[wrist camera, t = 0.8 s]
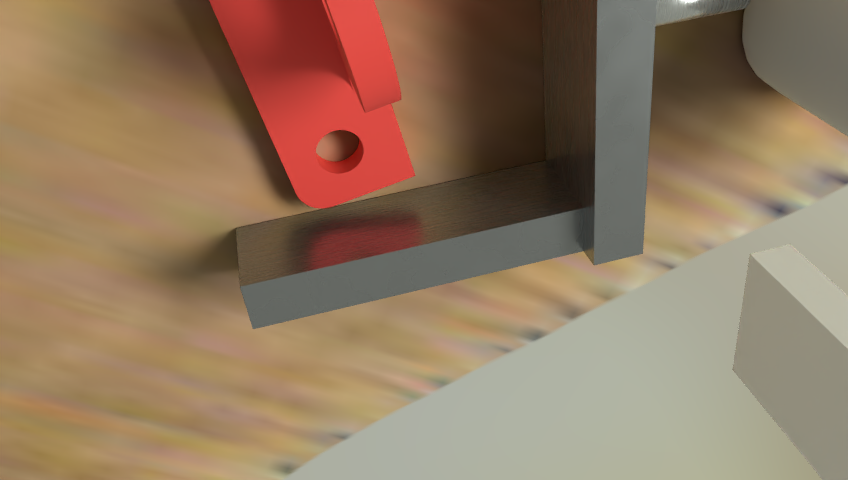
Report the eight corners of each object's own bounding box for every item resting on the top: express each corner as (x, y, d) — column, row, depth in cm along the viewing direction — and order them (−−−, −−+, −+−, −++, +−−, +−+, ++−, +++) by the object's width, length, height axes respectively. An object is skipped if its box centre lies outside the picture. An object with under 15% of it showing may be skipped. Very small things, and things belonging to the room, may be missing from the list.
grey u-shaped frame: (247, 268, 33) (254, 346, 29) (102, -223, 23) (80, -212, 19) (685, 169, 35) (749, 228, 31) (727, -312, 25) (829, -319, 21)
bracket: (166, -105, 25) (154, -44, 18) (302, -153, 25) (338, -110, 18) (303, 202, 32) (329, 324, 25) (408, 162, 32) (462, 273, 25)
